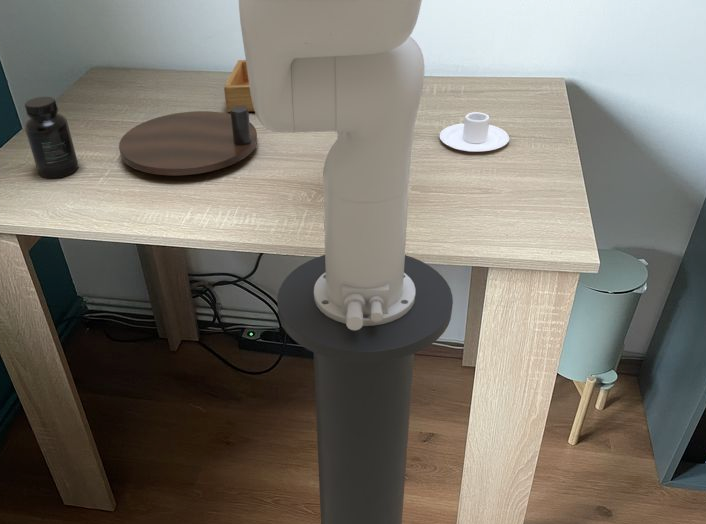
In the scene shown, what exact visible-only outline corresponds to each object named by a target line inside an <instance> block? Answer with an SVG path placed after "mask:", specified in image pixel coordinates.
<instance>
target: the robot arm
mask: <svg viewBox="0 0 706 524" xmlns="http://www.w3.org/2000/svg"><path fill="white" fill-rule="evenodd" d="M422 1H423V0H238V9H239V10H238V11H239V22H240V30H241V37H242V43H243V50H244V58H245V60H246V65H247V72H248V80H249V87H250V93H251V98H252V103H253V107H254V111H253V112H254V113H255V115H256V118H257V120H258V121H259V123H260V124H261V125H262V126H263V127H264V128H265V129H267V130H269V131H271V132H274V133H275V132H276V133H314V132H315V133H317V132H334V131H335V132H337V131H343V132H342V133H341V135H340V136H339V137H338V139H337V138H336V139H335V141H334V143H333V144H332V146H331V147H330V149H329V151H328V153H327V155H326V158H325V160H324V164H323V168H322V169H323V170H322V187H323V188H322V189H323V226H324V227H323V228H324V229H323V230H324V255H325V268H326V272H325V273H324V274H323V275H321V276H320V277H319V279H318V280H317V281H316V284H315V286H314V301H315V303H316V306H317V307H318V308H319V310H320V311H321V312H322V313H324V314H325V315H326V316H328V317H329V318H331V319H333V320H335V321H338V322H341V323H344V324H346V325H347V327H348V328H349V329H351V330H359V329H360V328H362V326H375V325H381V324H385V323H389V322H392V321H394V320H396V319H398V318H400V317H402V316H403V315H405V314H406V313H407V312H408V311H409V310H410V309H411V308H412V306H413V304H414V301H415V292H416V289H415V285H414V283H413V281H412V280H411V278H410V277H409V276H408V275H406V274H405V273H404V262H405V255H406V242H407V227H408V226H407V222H408V205H409V187H410V175H411V174H410V173H411V159H412V148H413V140H414V133H415V126H416V121H417V118H418V112H419V108H420V107H419V106H420V103H421V99H422V95H423V94H422V93H423V89H424V82H425V66H426V65H425V59H424V58H425V57H424V54H423V52H422V49H421V47H420V45H419V44H418V43H417V41H416V40H415V39H414V38H413V37H412V36H411V35H412V33H413V31H414V29H415V27H416V25H417V23H418V18H419V16H420V11H421V6H422Z"/></svg>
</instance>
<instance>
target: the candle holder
mask: <svg viewBox="0 0 706 524" xmlns="http://www.w3.org/2000/svg"><path fill="white" fill-rule="evenodd" d="M439 139H440V141H441V142H442V143H443V144H444V145H446V146H448V147H450V148H453V149H455V150H459V151H464V152H471V153H472V152H473V153H475V152H476V153H477V152H480V153H481V152H489V151H490V152H491V151H494V150H495V151H496V150H498V149H500V148H503V147H504V146H506V145H507V144H508V143H509V141H510V135H509V134H508V133H507V131H505V130H504V129H503V128H501V127H498V126H496V125H492V124H490V115H489V114H487V113H484V112H478V111H473V112H469V113H467V114H466V115H465V116H464V122H462V123H456V124H455V123H454V124H452V125H449V126H447V127H445V128H443V129H442V130H441V131H440V132H439Z"/></svg>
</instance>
